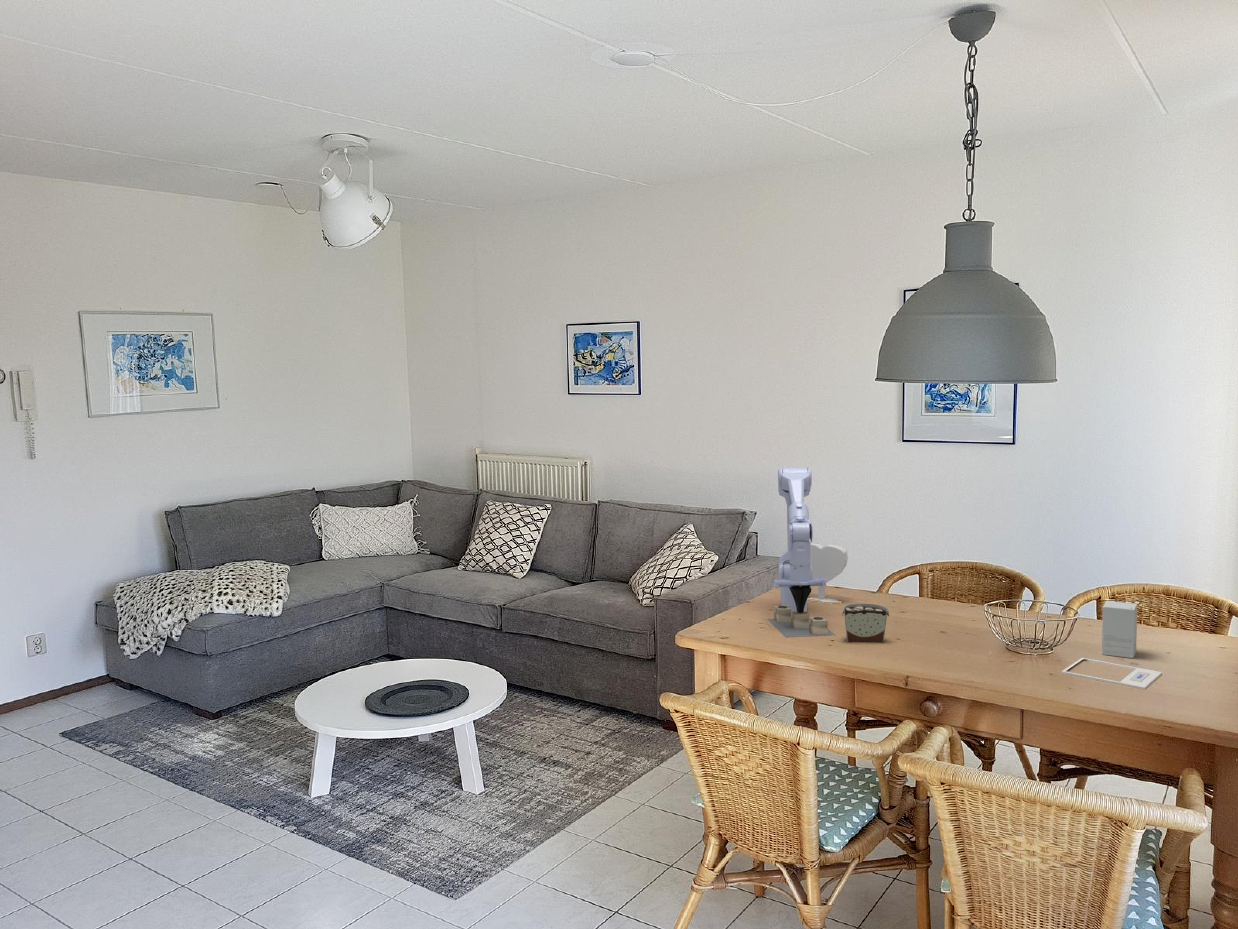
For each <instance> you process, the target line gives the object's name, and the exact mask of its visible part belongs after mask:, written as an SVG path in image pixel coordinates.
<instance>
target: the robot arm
mask: <svg viewBox="0 0 1238 929" xmlns="http://www.w3.org/2000/svg"><path fill="white" fill-rule="evenodd" d="M812 479H813V477H812V469H811V468H810V467H808V466H807V467H779V468H778V470H777V484H778V485H777V487H778V489H777V490H778V494H779V496H780V497H782V498H784V500H785V503H786V524H787V525H786V529H787V530H786V531H787V551H786V552H784V553H783V554H782V555H780V556H779V559H778V570H777V571H778V573H777V574H778V576H777V577H778V579H774V580H773V587H774V588H775V589H780V606H784V605H788V606H789V607H790V608H791V609H792V611H797V612H798V613H803V612H804V611H806V612H807V613H808V601H807V599H808V597H810V594H812V587H819V586H825V587H827V582H826V579H824V578H812V564H811V543H812V542H813V537H814V536H813V534H814V531H813V525H812V524H813V523H812V522H811V519H810V512H809V511H810V510H809V507H808V505H807V504H806V503H804V502H805V498H806V497H808V496H809V495H810V492H811V489H812V488H811V487H812V483H813V482H812V481H813V480H812Z"/></svg>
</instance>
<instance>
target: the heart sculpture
mask: <svg viewBox="0 0 1238 929" xmlns="http://www.w3.org/2000/svg"><path fill="white" fill-rule="evenodd" d="M810 543H811V564H812V578H824V579H826V583H828V582H830V581H832V580H833V579H835V578H836V577H838V576H839V575H840V574H842V573H843V571H844V570H845V568H846V566H847V563H848V559H849V558H848V552H847V550H846V549H845V548H844V547H842V546H840V545H836V544H827V545H825V546H823V545H822V544H819V543H812V542H810ZM817 594H818V596H809V597H810V598H808V599H815V600H820V601H822V602H821V603H826V602H827V603H828V602H839V601H837V600H838V599H835V598H829V597H826V586H818V593H817Z"/></svg>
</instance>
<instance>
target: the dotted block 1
mask: <svg viewBox="0 0 1238 929" xmlns="http://www.w3.org/2000/svg"><path fill="white" fill-rule="evenodd" d="M773 611H774V612H773V618H774V620H775V621H776V622H778V623H787V622H791V611H792V609H791V608H790V607H789V606H788V605H784V606H781V605H773Z"/></svg>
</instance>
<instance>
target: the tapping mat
mask: <svg viewBox="0 0 1238 929" xmlns="http://www.w3.org/2000/svg"><path fill="white" fill-rule="evenodd" d="M766 620H767V621H768V622H769V623H770V624H771V625H772V626H773V627H774V628H775V629H776V630H778V632H779V633H781V634H782V636H784V638H786V639H787V638H805V637H806V638H807V637H809V638H810V637H811V638H812V637H825V636H827V637H828V636H836V634H835V633H834V632H832V631H831V630H830V629H829V628H828V634H827V635H813V634H812V633H810V632H809V628H803V629H795V628H794V627H793V626H792V625H791V622H787V623H778V622H776V621H775V620H774V617H773V618H766Z"/></svg>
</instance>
